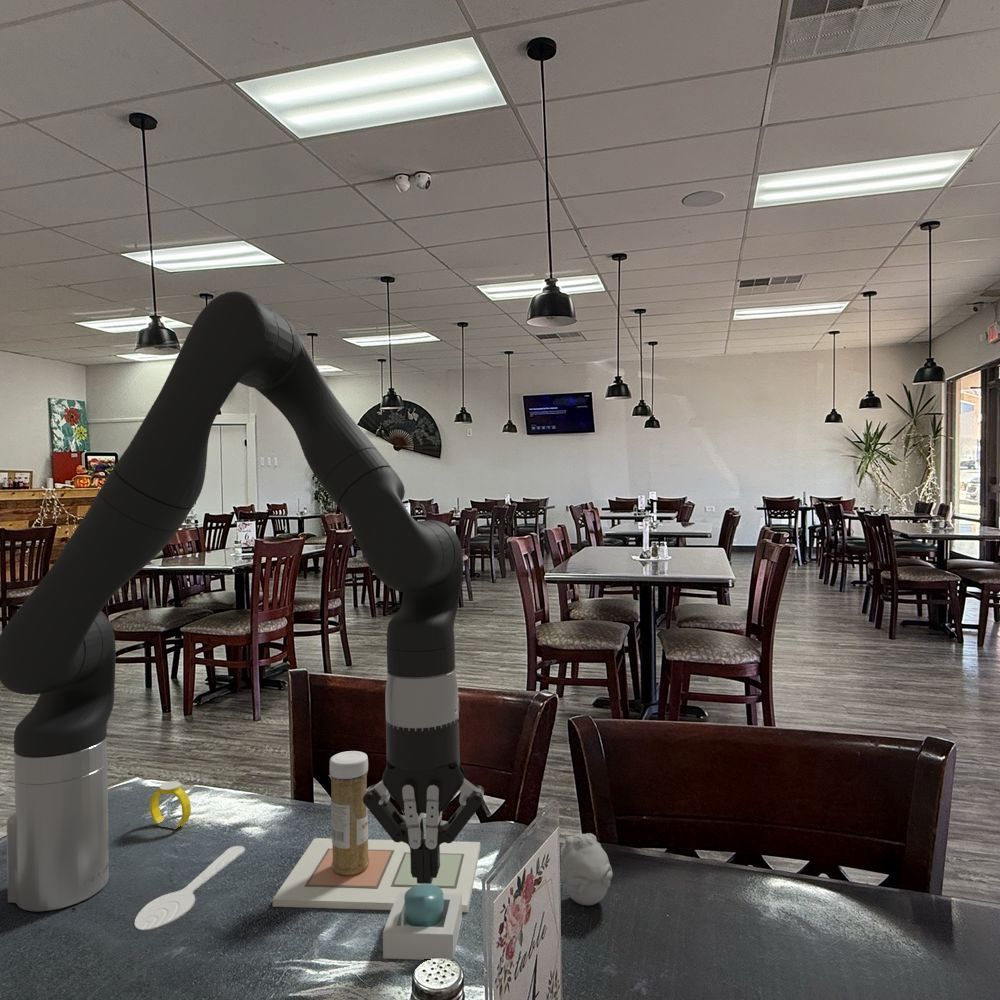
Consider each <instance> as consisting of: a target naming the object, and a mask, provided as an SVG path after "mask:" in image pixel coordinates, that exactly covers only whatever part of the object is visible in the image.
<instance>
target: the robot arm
mask: <svg viewBox="0 0 1000 1000" xmlns="http://www.w3.org/2000/svg"><path fill="white" fill-rule="evenodd" d="M238 383H239V384H241V385H244V386H247V387H249V388H254V389H255V390H256V391H257V392H259V393H260V394H261V395H262V396H264V397H265V399H267V400H268V401H269V402H270V403H271V404H272V405H273V406H274V407H275V408H276V409H277V410H278V411H279V412H280V413H281V414H282V416H284V417H285V419H286V421H288V423H289V424H290V426H291V427H292V429H293V431H294V432H295V435H296V437H297V440H298V442H299V444H300V447H301V451H302V453H303V456H304V458H305V460H306V462H307V464H308V466H309V468H310V471H312V473H313V475H314V476H315V479H317V480H318V482H319V484H320V485H321V486H322V488H323V489H324V490H325V492H326V493H327V495H329V497H330V498H331V500H332V501H333V502H334V503H335V504H336V506H337V507H338V509H339V510H340V511H341V512H342V513H343V514H344V515H345V517H346V518H347V520H348V523H349V525H350V528H351V531H352V533H353V536H354V538H355V540H356V543H357V544H358V547H359V549H360V552H361V553H362V555H363V558H364V559H365V562H366V563H367V565H368V567H369V568H370V570H371V571H372V573H373V574H374V575H375V576H376V577H377V578H378V579H379V580H380V581H381V582H382V583H383V584H384V585H385V586H387V587H389V588H390V589H392V590H393V591H396V592H400V593H403V594H402V600H401V601H402V602H401V606H400V608H399V610H398V611H397V613H396V614H395V615H393V617H392V618H390V620H389V622H388V623H387V629H386V667H387V671H386V672H387V673H386V684H385V685H386V686H385V694H384V695H385V697H384V698H385V705H384V706H385V740H386V741H385V743H386V746H385V748H386V767H385V769H384V772H383V774H382V777H381V779H382V780H381V781H379V782H378V783H376V784H371V785H369V787H368V789H367V792H366V794H365V795H364V797H363V803H364V804H365V805H366V807H367V808H368V811H369V812H370V813H371V815H373V817H374V818H375V819H376V821H378V823H379V825H380V826H381V827H382V828H383V830H384V831H385V832H386V833H387V834H388V836H389V837H390V839H391V840H393V841H394V842H397V843H398V842H404V843H406V844H408V845H409V847H410V859H411V874H412V877H413V878H417V884H431V883H432V880H433V878H436V877H437V874H438V871H439V868H440V844H442V843H452V842H453V841H454V840H455V839H457V837H458V835H459V834H460V833H461V831H462V830H463V829H464V827H465V826H466V825H467V824H468V822H469V821H470V820H471V818H472V817H473V816H474V814H475V813H476V812H477V810H478V809H479V807H481V806H482V804H483V799H484V794H485V789H484V787H483V786H482V785H474V784H473V783H472V782H470V781H469V780H467V778H466V772H465V770H464V767H463V766H462V764H461V759H460V758H461V756H460V723H459V722H460V721H459V720H460V718H459V717H460V715H459V712H460V707H461V706H460V699H459V688H458V686H459V685H458V680H457V673H456V645H455V642H456V641H455V631H454V630H455V629H454V628H455V621H456V616H457V614H458V613H457V612H458V607H459V601H460V595H461V588H462V582H463V575H464V553H463V549H462V545H461V542H460V539H459V537H458V535H457V533H456V532H455V531H454V529H453V528H452V527H450V525H448V524H446V523H445V522H442V521H439V520H434V519H425V520H416V519H415V518H414V517H413V516H412V515H411V513H410V512H409V511H408V510H407V507H406V506H405V504H404V503H403V500H404V497H405V493H406V492H405V491H406V490H405V486H404V484H403V480H401V478H400V476H399V475H398V473H397V472H396V471H395V470H394V469H393V468H392V465H390V463H389V462H388V461H387V459H386V458H385V457H384V456H383V455H382V454H381V452H380V451H379V450H378V448H376V446H375V445H374V444H373V443H372V441H371V440H370V439H369V437H368V436H367V435H366V434H365V433H364V432H363V430H362V429H361V428H360V427H359V426H358V425H357V423H356V422H355V421H354V419H353V418H352V417H351V416H350V415H349V413H348V411H346V409H345V408H344V406H343V405H342V404H341V403H340V402H339V400H338V399H337V398H336V395H334V393H333V391H332V390H331V388H330V387H329V385H328V384H327V382H326V380H325V379H324V377H323V375H322V374H321V372H320V370H319V369H318V367H317V365H316V363H315V361H314V359H313V357H312V355H311V354H310V352H309V350H308V348H307V346H306V345H305V343H304V341H303V339H302V338H301V336H300V335H299V333H298V331H297V329H296V328H295V326H294V325H293V324H292V323H291V322H290V320H288V319H287V318H286V317H285V316H283V315H282V314H280V313H279V312H278V311H276V310H274V309H273V308H272V307H269V305H267V304H266V303H263V302H262V301H260V300H259V299H257V298H256V297H253V296H252V295H250V294H248V293H246V292H243V291H236V290H235V291H227V292H223V293H221V294H219V295H218V296H216V297H214V298H213V299H211V301H210V302H208V303H207V305H205V306H204V308H202V310H201V312H200V313H199V314H198V316H197V317H196V319H195V321H194V322H193V324H192V326H191V328H190V330H189V332H188V334H187V336H186V338H185V340H184V342H183V344H182V346H181V349H180V350H179V352H178V355H177V357H176V359H175V361H174V363H173V365H172V367H171V369H170V371H169V373H168V376H167V377H166V380H165V382H164V384H163V386H162V388H161V390H160V392H159V394H158V395H157V397H156V399H155V400H154V402H153V404H152V405H151V407H150V409H149V410H148V412H147V414H146V415H145V418H144V419H143V421H142V423H141V424H140V426H139V428H138V430H137V431H136V433H135V434H134V436H133V438H132V440H131V441H130V443H129V444H128V446H127V448H126V449H125V450H124V452H123V453H122V455H121V457H120V458H119V459H118V460H117V462H116V463H115V465H114V467H113V468H112V469H111V471H110V473H109V474H108V476H107V477H106V479H105V481H104V482H103V484H102V486H101V487H100V489H99V491H98V492H97V494H96V496H95V498H94V499H93V501H92V503H91V505H90V507H89V508H88V510H87V511H86V513H85V515H84V516H83V518H81V520H80V523H78V525H77V526H76V529H75V530H74V531H73V533H72V535H71V536H70V538H69V540H68V541H67V543H66V544H65V546H64V547H63V549H62V550H61V552H60V554H59V555H58V557H57V558H56V560H55V562H54V563H53V565H52V566H51V568H50V569H49V570H48V572H47V573H46V574H45V576H44V577H43V579H42V580H41V581H40V582H39V583H38V584H37V585H36V587H35V588H34V590H33V591H32V592H31V593H30V594H29V596H28V597H27V598H26V600H25V601H23V603H22V604H21V605H20V607H19V608H18V610H16V612H15V613H13V614H14V615H13V616H12V617H11V618H10V620H9V621H8V623H6V625H5V626H4V628H3V630H2V631H1V633H0V683H1V685H3V687H5V688H6V689H8V691H10V692H13V693H15V694H19V695H26V696H27V695H28V696H31V695H39V696H38V697H37V698H38V699H37V700H36V702H35V704H34V706H33V707H32V708H31V710H30V711H29V712H28V713H27V714H26V715H25V716H24V717H23V718H22V719H21V720H20V721H19V723H18V724H17V725H16V728H15V729H14V732H13V760H14V761H13V762H14V766H13V767H14V768H13V770H14V814H12V815H11V816H9V817H8V818H7V820H6V855H7V856H6V865H7V866H6V867H7V869H6V870H7V877H6V878H7V879H6V880H7V903H12V904H13V903H14V904H16V905H17V906H18V907H19V908H20V909H22V910H24V911H27V912H28V911H29V912H45V911H47V912H48V911H54V910H60V909H63V908H66V907H71V906H72V905H75V904H79V903H80V902H81V903H82V901H85V900H87V899H90V898H91V897H92V896H94V895H96V894H97V893H98V892H100V891H101V890H102V889H104V887H105V886H106V885H107V884H108V882H109V877H110V869H109V866H110V861H109V805H108V804H109V802H108V801H109V799H108V798H109V797H108V792H109V791H108V790H109V789H108V788H109V787H108V785H109V784H108V742H107V739H108V737H107V732H108V731H107V728H108V721H109V719H110V716H111V715H112V712H113V708H114V705H115V689H116V688H115V687H116V686H115V685H116V662H117V661H116V658H117V653H116V652H117V651H116V650H117V648H116V639H115V638H116V637H115V633H114V630H113V627H112V623H111V622H110V620H109V618H108V617H107V616H106V614H105V613H104V612H103V611H102V610H103V608H104V607H105V606H106V604H107V603H108V602H109V601H110V599H111V598H112V597H113V596H114V595H115V594H116V593H117V592H118V591H119V590H121V588H122V587H123V586H124V585H125V584H126V583H127V582H129V581H130V580H131V579H132V578H133V577H134V576H135V575H136V574H138V573H139V572H140V571H141V570H142V569H143V568H144V567H146V565H148V564H149V563H150V562H151V561H152V560H153V559H154V558H155V557H157V556H158V555H159V553H161V551H163V549H164V548H166V546H167V545H168V544H169V543H170V542H171V540H172V539H173V538H174V537H175V535H176V534H177V532H178V531H179V529H180V528H181V526H182V525H183V523H184V522H185V520H186V519H187V517H188V515H189V514H190V512H191V510H192V509H193V508H194V506H195V504H196V503H197V501H198V499H199V497H200V495H201V493H202V490H203V487H204V483H205V478H206V470H207V459H208V445H209V439H210V434H211V430H212V426H213V424H214V423H215V419H216V417H217V416H218V413H219V412H220V410H221V409H222V407H223V405H224V403H225V402H226V401H227V398H228V397H229V395H230V394H231V392H232V391H233V390H234V388H235V387H236V385H237V384H238ZM459 791H460V795H459V800H458V801H459V804H460V805H459V807H458V808H457V809H456V810H455V812H454V813H453V815H452V816H451V817H450V818H449V820H448V821H447V822H446V823H444V824H442V817H443V811H445V810H446V809H447V808H448V806H450V803H451V802H452V800H453V799H454V798H455V796H456V795H457V793H458V792H459ZM391 797H392V798H393V799H394V801H395V802H396V804H397V805H398V806H399V808H400V809H401V810H403V811H404V816H405V817H404V816H403V815H402V814H401V812H400V811H398V809H397V808H396V807H395V806H394V804H393V803H392V802H391V801H390V798H391ZM424 814H425V819H424ZM425 828H426V829H425Z"/></svg>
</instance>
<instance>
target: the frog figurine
mask: <svg viewBox="0 0 1000 1000" xmlns="http://www.w3.org/2000/svg"><path fill="white" fill-rule="evenodd" d="M560 850H561V876H560V881H561V883H562V884H563V887H564V889H565V890H566V893H567V894H568V895H569V897H570V898H571V899H572V900H573V901H574V902H576V903H577V904H579V905H582V906H593V905H596V904H598V903H599V902H600V901H602V899H604V897H605V896H606V894H607V891H608V889H609V888H610V887H611V880H612V878H613V874H614V873H613V869H612V866H611V864H610V861H609V857H608V854H607V853H606V851H605V850H604V848H603V847H602V845H601V843H600V842H598V841H597V836H596V835H594V834H593V833H591V832H589V833H588V832H587V833H576V834H574V835H573V836H572V835H570V836H567V837H566V839H565V841H564V843H563V845H562V847H561V848H560Z"/></svg>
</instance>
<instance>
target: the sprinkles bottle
mask: <svg viewBox="0 0 1000 1000" xmlns="http://www.w3.org/2000/svg"><path fill="white" fill-rule="evenodd" d="M368 771H369V758H368V755H367V754H366V752H363V751H358V750H348V751H342V752H339V753H336V754H334V755H332V756H331V757H330V759H329V775H330V779H331V780H330V782H331V784H330V785H331V786H330V788H331V789H330V790H331V792H330V793H331V799H330V815H331V816H330V817H331V820H330V821H331V822H330V823H331V839H332V844H333V862H332V869H333V871H334V872H336V873H338V874H341V875H353V874H357V873H359V872H362V871H363V870H365V869H366V868H367V867H368V865H369V857H368V839H369V823H368V821H369V818H368V817H369V816H368V815H369V814H368V811H369V809H368V808H367V807H366V805H365V804H364V803H363V797H364V795H365V794H366V792H367V790H368V789H367V780H368V779H367V776H368Z"/></svg>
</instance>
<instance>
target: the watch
mask: <svg viewBox="0 0 1000 1000" xmlns="http://www.w3.org/2000/svg"><path fill="white" fill-rule="evenodd" d="M162 794H163V795H170V794H173V795H174V796H175V797H176V798H177V799H178V802H179V803H180V805H181V814H182V815H181V817H180V821H179V822H178V823H179V824H178V825H177V826H176V827H177V828H178V827H180V826H181V827H183V826H184V825H185V824H186V823H187V822H188V821H189V819H190V816H191V812H192V807H191V801H190V798H189V796H188V795H187V792H186V791H184V789H182V783H181V782H180V781H175V780H171V781H167V782H166V781H165V782H164V783H162V784H160V785H159V789H157V790H156V791H154V792H153V794H152V796H151V797H150V800H149V812H150V815H151V816H150V817H151V818H152V821H153V823H154V824H156V823H160V822H162V821H163V820H164V819H165V818H164V816H163V815H162V813H161V809H160V805H159V803H160V796H161V795H162ZM183 824H184V825H183ZM182 825H183V826H182ZM181 827H180V828H181ZM178 829H179V828H178Z"/></svg>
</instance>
